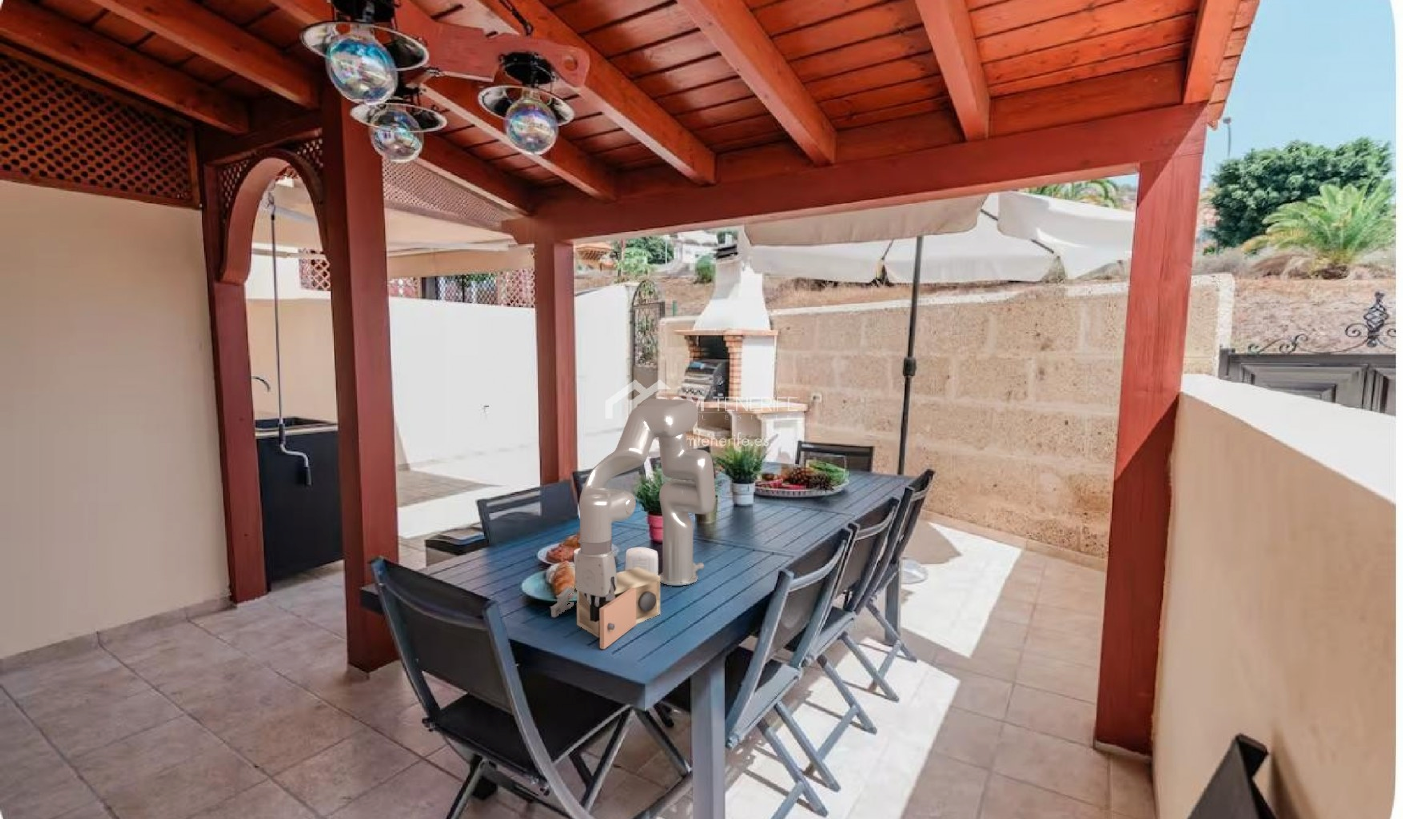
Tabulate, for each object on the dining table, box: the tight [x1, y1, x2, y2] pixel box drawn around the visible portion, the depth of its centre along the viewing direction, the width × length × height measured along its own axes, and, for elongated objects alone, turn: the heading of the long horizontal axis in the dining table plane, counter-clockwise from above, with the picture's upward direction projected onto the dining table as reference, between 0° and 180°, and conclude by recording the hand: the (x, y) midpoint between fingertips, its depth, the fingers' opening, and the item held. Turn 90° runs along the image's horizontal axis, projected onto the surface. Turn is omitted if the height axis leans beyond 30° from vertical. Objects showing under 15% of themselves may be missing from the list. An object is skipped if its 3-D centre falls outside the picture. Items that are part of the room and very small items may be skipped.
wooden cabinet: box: [576, 567, 661, 639], centre depth 167 cm, size 20×11×11 cm, turn 133°
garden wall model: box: [549, 586, 575, 618], centre depth 174 cm, size 12×2×6 cm, turn 159°
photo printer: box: [624, 546, 659, 575], centre depth 191 cm, size 10×4×12 cm, turn 78°
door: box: [599, 588, 637, 650], centre depth 156 cm, size 15×2×10 cm, turn 156°
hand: (596, 619), depth 154 cm, fingers closed
